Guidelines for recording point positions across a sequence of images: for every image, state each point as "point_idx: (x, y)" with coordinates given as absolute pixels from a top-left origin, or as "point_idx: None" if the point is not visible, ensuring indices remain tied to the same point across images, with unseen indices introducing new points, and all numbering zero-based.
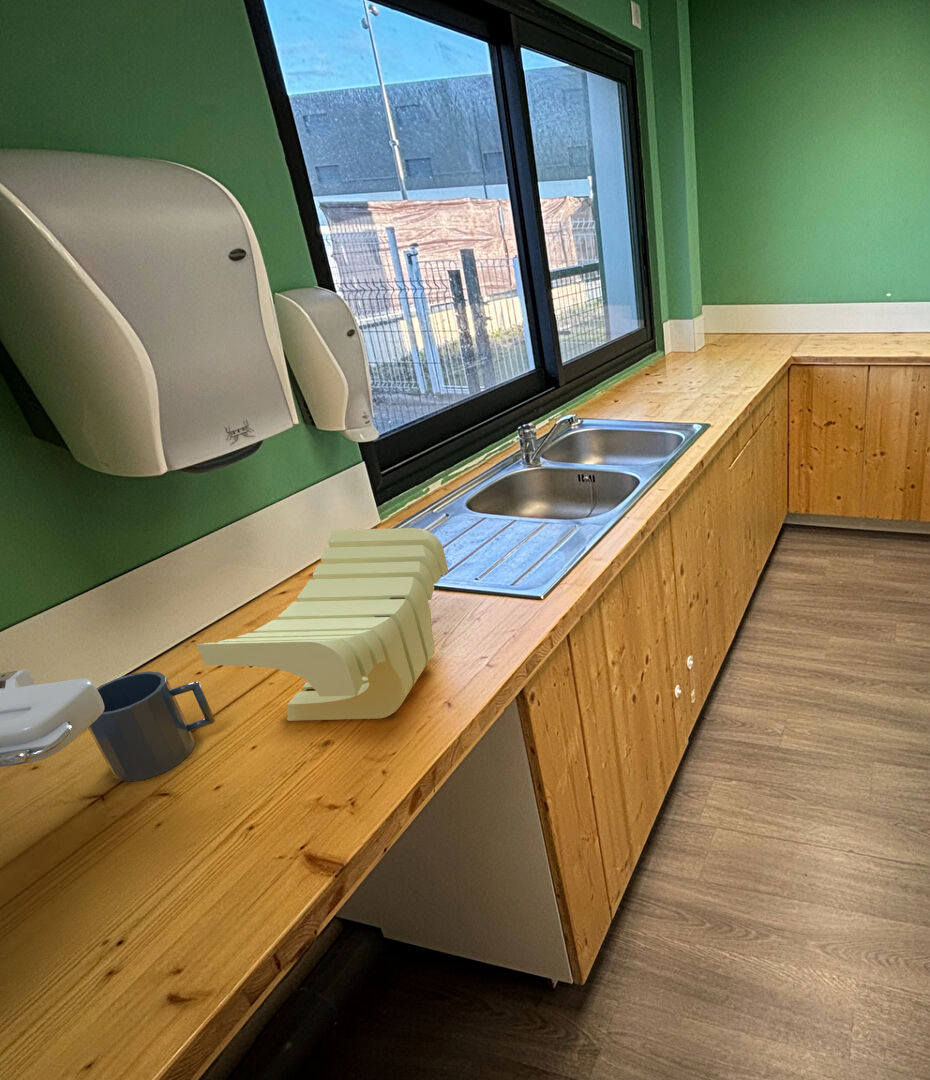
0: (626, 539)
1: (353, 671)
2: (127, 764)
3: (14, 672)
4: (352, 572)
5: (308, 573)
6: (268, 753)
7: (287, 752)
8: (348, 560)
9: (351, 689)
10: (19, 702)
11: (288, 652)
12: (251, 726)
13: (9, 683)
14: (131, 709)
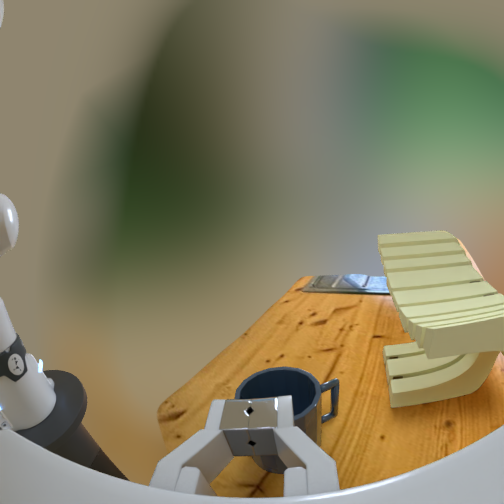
0: (472, 260)
1: None
2: (281, 463)
3: (271, 402)
4: (419, 265)
5: (293, 289)
6: (402, 442)
7: (420, 438)
8: (405, 257)
9: None
10: None
11: None
12: (360, 415)
13: (300, 446)
14: (304, 417)
